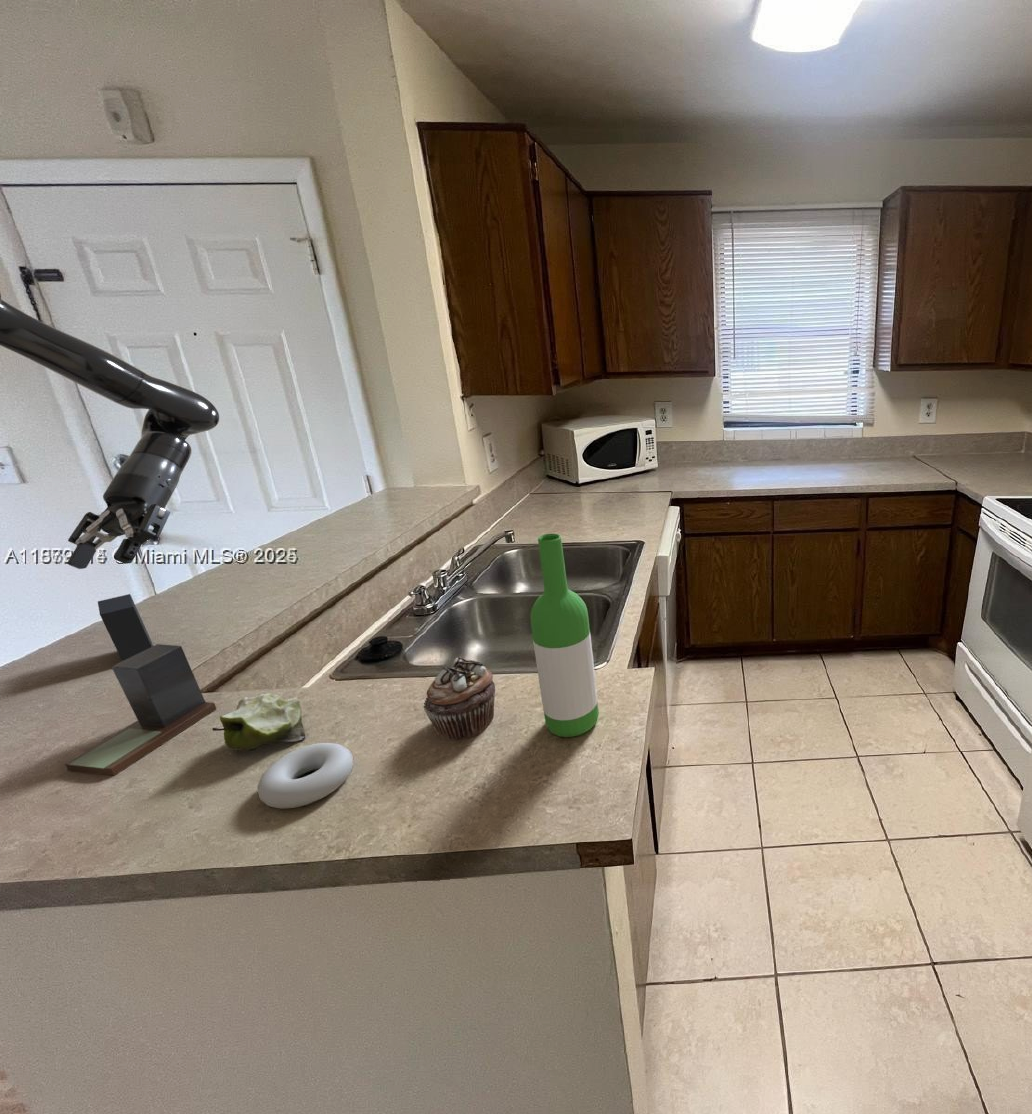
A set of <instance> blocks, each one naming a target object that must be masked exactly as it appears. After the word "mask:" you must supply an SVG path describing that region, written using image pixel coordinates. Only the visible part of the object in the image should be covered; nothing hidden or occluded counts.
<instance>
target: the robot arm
mask: <svg viewBox="0 0 1032 1114" xmlns="http://www.w3.org/2000/svg"><path fill="white" fill-rule="evenodd" d="M0 346H1V347H3V348H5V349H6V350H9V351H12V352H14V353H17V354H18V355H21V356H23V357H24V358H27V359H28V360H30V361H33V362H34V363H37V364H39V365H40V366H42V367H44V368H46V369H48V370H50V371H52V372H54V373H56V374H57V375H60V376H61V377H63V378H66V379H68V380H70V381H72V382H73V383H75V384H77V385H79V386H82V387H83V388H85V389H87V390H89V391H91V392H93V393H95V394H97V395H99V396H101V397H103V398H105V399H107V400H109V401H111V402H113V403H115V404H117V405H120V406H122V407H124V408H127V409H134V410H147V411H146V413H145V416H144V418H143V422H142V427H141V433H140V434H141V435H140V439H139V440H138V442H137V443H136V444H135V446H134V448H133V450H132V451H131V453H130V454H129V456H128V457H127V459H125V460H124V461H123V463H121V465H120V467H119V468H118V470H117V472H116V474H115V475H114V476H113V478H112V480H111V482H110V483H109V485H108V487H106V490H105V491H104V493H103V495H102V499H103V501H104V502H105V504H106V508H105V509H104V510H103V511H102V512H101V513H100V514H96V513H93V512H91V511H88V512H86V513H85V514H84V516H83V517H82V519H81V520H80V521H79V522H78V523H77V526H76V527H75V529H74V530H73V532H72V533H71V535H70V536H69V538H68V539H67V542H69V543H71V544H73V545H75V546H76V547H75V549H74V550H73V552H72V554H71V555H70V557H69V559H68V560H67V565H69V567H70V566H71V567H73V568H76V569H78V570H83V569H87V568H88V566H89V564H90V562H91V561H92V559H93V558H94V556H95V554H96V552H97V550H98V549H99V548H100V547H101V546H103V545H104V544H105V543H110V542H112V541H114V540H115V539H116V538H118V537H122V536H125V537H126V538H123V539H122V541H121V543H120V545H119V546H118V548H117V550H116V551H115V554H113V559H114V560H115V561H117V562H120V563H122V564H125V565H127V564H131V563H133V561H134V560H135V558H136V556H137V554H138V552H139V551H140V550H141V547H142V546H144V545H146V544H147V543H148V542H149V541H151V540H152V541H156V540H158V539H159V538H160V536H161V533H162V532H163V530H164V527H165V525H166V523H167V521H168V519H169V517H170V515H171V511H169V510H168V509H166V507H167V505H168V503H169V501H170V500H171V498H172V496H173V494H174V492H175V490H176V489H177V487H178V484H179V482H180V478H181V475H182V473H183V471H184V470H185V468H186V466H187V464H188V463H189V460H190V458H191V456H192V447H191V445H190V444H189V442H188V441H187V438H188V437H190V436H192V435H197V434H199V433H205V432H207V431H211V430H212V429H214V428H216V427H217V426H218V425H219V422H220V414H219V410H218V409H217V408H216V406H215V405H214V404H213V403H212V402H211V400H208V399H207V398H206V397H205V396H203V395H201V394H199V393H197V392H195V391H193V390H191V389H189V388H188V389H187V388H185V387H183V386H180V385H177V384H175V383H171V382H169V381H166V380H164V379H162V378H161V379H160V378H157V377H154V376H151V375H150V374H148V373H146V372H144V371H142V370H141V369H139V368H137V367H136V366H134V365H132V364H130V363H128V362H126V361H125V360H123V359H121V358H119V357H117V356H115V355H114V354H112V353H110V352H108V351H106V350H104V349H102V348H99V347H98V346H96V345H94V344H91V343H90V342H89V343H88V342H86V341H85V340H82V339H80V338H78V337H75V336H73V335H71V334H68V333H66V332H64V331H62V330H60V329H57V328H55V327H53V326H52V325H49V324H47V323H45V322H42V321H41V320H39V319H37V318H36V317H34V316H33V317H32V316H31V315H29V314H27V313H26V312H23V311H22V310H20V309H18V308H17V307H15V306H13V305H12V304H10V303H8V302H7V301H4V300H3V299H2V294H1V292H0ZM150 526H151V527H153V529H152V530H150V529H149V528H150ZM101 531H102V532H101ZM103 532H104V533H103Z"/></svg>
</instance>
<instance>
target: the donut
mask: <svg viewBox="0 0 1032 1114" xmlns="http://www.w3.org/2000/svg"><path fill="white" fill-rule="evenodd" d="M353 765H354V758H353V755H352V752H351V751H350V749H348V748H347V747H345V746H344V745H342V744H339V743H334V742H317V743H313V744H309V745H305V746H302V747H300V748H297V749H294V750H292V751H290V752H288V753H286V754H285V755H283V756H281V757H279V758H278V759H277V760H276V761H275V762H273V763H271V764H270V766H269V767H268V768H267V769H266V770H265V771H264V772H263V773H262V774H261V776H260V779H259V782H258V784H257V793H258V798H259V799H260V801H261V802H263V803H264V804H266V806H269V807H271V808H276V809H280V810H282V809H283V810H284V809H296V808H300V807H303V806H307V805H310V804H313V803H314V802H317V801H319V800H322V799H324V798H326V797H327V796H329V795H330V794H331V793H333V792H335V791H336V790H337V789H338V788H339V787H340V786H341V785H343V784H344V782H346V780H347V779H348V777H349V776H350V774H351V773H352V770H353ZM311 771H314V772H312V773H311V774H308V775H305V776H303V777H301V776H302V775H304V774H306V773H309V772H311ZM299 777H300V778H299Z"/></svg>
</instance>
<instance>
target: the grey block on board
mask: <svg viewBox="0 0 1032 1114" xmlns="http://www.w3.org/2000/svg"><path fill="white" fill-rule="evenodd" d="M111 669H112V671H113V673H114V676H115V677H116V680H117V681H118V683H119V685H120V687H121V689H122V691H123V693H124V696H125V698H126V700H127V702H128V703H129V705H130V708H131V710H132V711H133V713H134V715H135V718H136V719H137V720H136V721H134V722H132V723H131V724H129V725H128V726H127V725H126V727H124V728H122V729H121V730H119V731H117V732H116V733H114V734H112V735H111V736H109V737H107V738H106V739H104V740H102V741H100V742H98V743H97V744H95V745H93V746H92V747H90V748H89V749H87V750H85V751H83V752H82V753H80V754H78V755H76V756H75V757H73V758H72V759H70V760H68V761H67V762H65V763H64V766H65V768H66V769H67V771H68V772H77V773H84V774H85V773H87V774H96V775H106V776H116V775H118V774H119V773H121V772H122V771H123V770H125V769H127V768H129V767H130V766H131V765H133V764H135V763H136V762H138V761H139V760H141V759H142V758H144V757H145V756H147V755H148V754H150V753H151V752H153V751H155V750H156V749H157V748H159V747H160V746H162V745H163V744H166V743H167V742H168V741H170V740H171V739H174V737H176V736H177V735H179V734H180V733H183V732H184V731H185V730H187V729H188V728H190V727H191V726H193V725H194V724H196V723H198V722H199V721H201V720H202V719H204V718H206V717H207V716H208V715H210V714H211V713H212V712H214V711H216V710H217V706H216V704H215V702H210V701H206V700H205V698H204V696H203V693H202V691H201V688H200V687H199V683H198V681H197V679H196V677H195V674H194V672H193V670H192V668H191V665H190V663H189V661H188V658H187V656H186V654H185V651H184V649H183V647H182V646H181V645H173V644H161V643H156V644H154V645H153V646H152V647H150V648H148V649H146V650H144V651H142V652H140V653H138V654H136V655H134V656H132V657H130V658H128V659H126V660H124V661H122V660H121V661H120V662H118V663H116V664H114V665H112V666H111Z"/></svg>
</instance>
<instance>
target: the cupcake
mask: <svg viewBox="0 0 1032 1114" xmlns="http://www.w3.org/2000/svg"><path fill="white" fill-rule="evenodd" d="M483 665H484V664H483V663H482V662H481V661H476V660H471V659H469V660H468V659H464V657H462V656H458V657H456V658H455V659H454V660H453V666H451V667H450V666H442V670H441V671H440V673H439V674H438V675H436V676H435V678H434V680H433V682H431V684H430V685H429V687H428V689H427V691H426V697H425V699H424V702H423V711H424V712H425V714H426V715H427V717H428V720H429V721H430V722H431V724H432V726H433V728H434V730H435V732H436V734H437V735H438V736H439V737H440V738H441V739H443V740H447V741H461V740H467V739H470V738H471V737H474V736H477V735H478V734H480V733H483V732H484V730H485V729H486V728H487V727H488V726H490V725H491V723H492V721H493V719H494V714H495V698H496V684H495V681H493V679H494V677H493V673H492V672H491V671H490V670H489V669H488V668H486V667H485V666H483Z"/></svg>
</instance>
